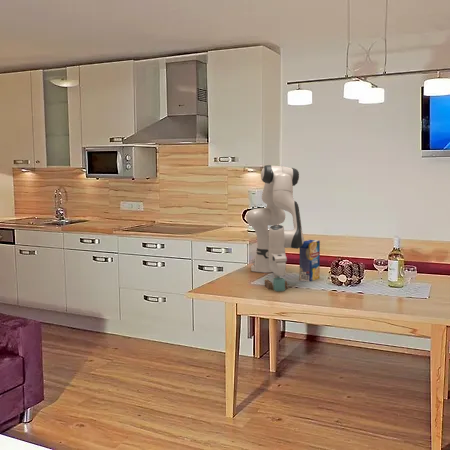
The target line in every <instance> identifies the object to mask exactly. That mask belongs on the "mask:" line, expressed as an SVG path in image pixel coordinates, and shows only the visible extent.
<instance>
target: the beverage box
mask: <svg viewBox="0 0 450 450" xmlns="http://www.w3.org/2000/svg"><path fill="white" fill-rule="evenodd" d="M320 243H321V240H315V239H307V240H304V242H303V245H302V246H301V247H300V248H299V281H302V282H303V281H304V282H312V281H316V280H319V279H320V278H321V277H320V276H321V275H320V274H321V273H320V271H321V269H320V265H321V263H320V261H321V260H320V258H321V257H320V256H321V253H320V251H321V250H320V249H321V248H320V245H321V244H320Z"/></svg>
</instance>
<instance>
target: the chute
mask: <svg viewBox="0 0 450 450" xmlns="http://www.w3.org/2000/svg"><path fill="white" fill-rule="evenodd" d="M264 287H265V288H266V289H267V290H269V291H270V290H271V291H272V290H273V281H271V280H270V279H264ZM287 289H288V281H286V280H285V290H287Z"/></svg>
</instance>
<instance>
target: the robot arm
mask: <svg viewBox="0 0 450 450" xmlns="http://www.w3.org/2000/svg"><path fill="white" fill-rule="evenodd" d="M260 178H261V181H262V182H263V183H264V185H263V189H262V190H263V191H262V193H261V201H262V202H263V203H264V204H265V205H266V206H265V207H261V208H259V207H258V208H254V209H251V210H248V212H247V214H246V222H247V223H248V225H250V227H252V229H254V232H255V235H256V243H257V247H256V252H255V253H256V255H255V256H254V258H253V259H251V264H253V265H251V266H250V271H251V272H256V273H265V274H266V273H273V276H274V277H273V278H281V277H285V276H286V267H287V266H286V265H287V261H288V258H287V256H286V248H287V249H297V250H298V249H300V247H301V246H302V245H303V242H304V241H305V239H304V238H305V237H304V234H303V229H302V221H301V214H300V207H299V204H298V202H297V201H296V200H295V198H294V196H293V191H294V190H293V189H294V188H293V187H295V186H296V185H297V184H298V183H299V180H300V171H299V170H298V169H297V168H294V167H288V166H286V165H285V166H283V165H271V164H268V165H264V166H263V167H262V169H261V171H260ZM285 211H286V212H288V213H289V214H291V216H292V224H293V229H285V228H284V225H281V224H283V223H284V222H285V220H286V212H285ZM269 226H270V227H269ZM268 227H269V228H268Z"/></svg>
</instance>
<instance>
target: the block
mask: <svg viewBox="0 0 450 450" xmlns="http://www.w3.org/2000/svg"><path fill="white" fill-rule="evenodd" d="M285 281H286V279H285V278H283V277H280V278H275V277H273V278H272V290H274V292H285V291H286V289H285Z"/></svg>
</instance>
